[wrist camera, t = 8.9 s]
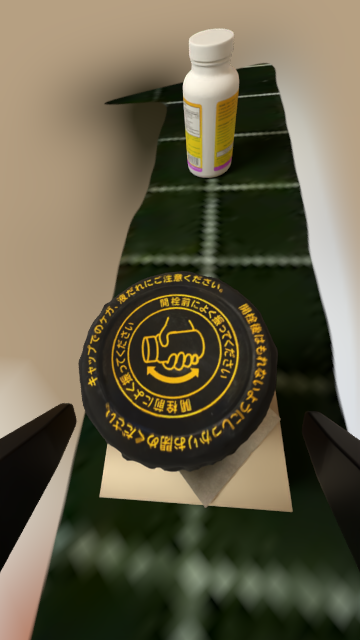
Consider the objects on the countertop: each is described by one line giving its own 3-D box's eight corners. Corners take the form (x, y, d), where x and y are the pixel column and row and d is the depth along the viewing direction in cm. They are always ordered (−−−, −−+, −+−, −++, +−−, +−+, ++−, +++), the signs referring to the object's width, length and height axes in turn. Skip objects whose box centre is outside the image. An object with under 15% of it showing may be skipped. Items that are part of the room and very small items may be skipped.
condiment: (195, 336, 18) (182, 213, 7) (280, 419, 15) (473, 411, 4) (126, 399, 17) (-17, 358, 6) (205, 506, 14) (213, 844, 3)
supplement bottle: (232, 154, 35) (247, 21, 23) (228, 180, 32) (242, 46, 21) (191, 154, 36) (185, 27, 25) (184, 179, 33) (174, 51, 22)
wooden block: (273, 492, 17) (292, 511, 13) (120, 481, 18) (99, 497, 14) (258, 362, 21) (269, 349, 17) (135, 361, 22) (122, 349, 18)
